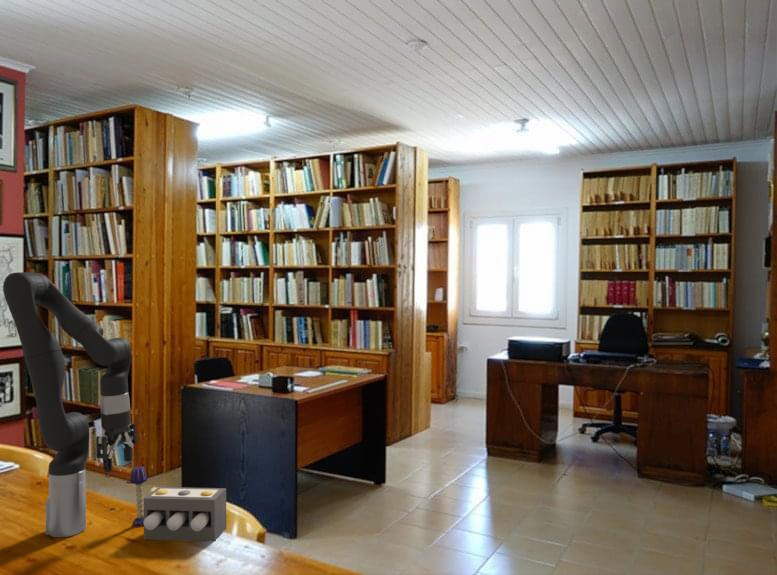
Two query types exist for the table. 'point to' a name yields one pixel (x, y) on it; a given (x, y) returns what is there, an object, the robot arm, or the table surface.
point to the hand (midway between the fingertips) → (118, 466)
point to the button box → (193, 504)
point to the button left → (154, 519)
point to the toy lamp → (139, 492)
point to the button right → (200, 521)
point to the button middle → (177, 520)
